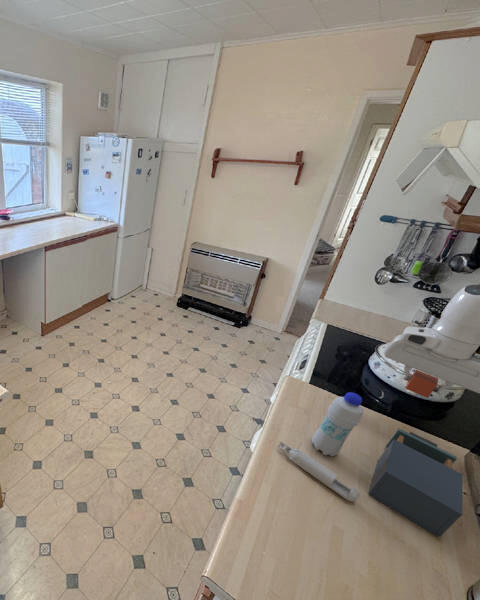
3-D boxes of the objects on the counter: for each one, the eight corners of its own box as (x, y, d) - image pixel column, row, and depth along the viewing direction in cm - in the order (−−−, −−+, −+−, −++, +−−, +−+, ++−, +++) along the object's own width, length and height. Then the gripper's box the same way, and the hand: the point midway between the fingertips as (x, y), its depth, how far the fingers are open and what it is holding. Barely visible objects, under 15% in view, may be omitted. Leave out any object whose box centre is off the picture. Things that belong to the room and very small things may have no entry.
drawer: (388, 436, 95) (400, 419, 92) (442, 463, 88) (457, 446, 85) (378, 472, 84) (391, 454, 81) (439, 507, 76) (456, 489, 73)
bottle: (338, 463, 86) (374, 408, 77) (309, 451, 89) (340, 396, 80) (336, 446, 91) (369, 392, 82) (308, 435, 94) (338, 382, 85)
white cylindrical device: (357, 497, 78) (370, 479, 75) (351, 508, 75) (364, 491, 72) (280, 444, 90) (289, 428, 87) (273, 452, 88) (281, 436, 85)
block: (407, 382, 93) (415, 369, 91) (428, 391, 90) (438, 378, 88) (405, 388, 90) (414, 375, 88) (427, 398, 87) (437, 385, 85)
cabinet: (377, 460, 88) (393, 439, 84) (441, 496, 80) (462, 473, 76) (367, 494, 79) (385, 471, 75) (438, 537, 71) (462, 514, 67)
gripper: (509, 359, 78) (474, 402, 85) (400, 324, 92) (376, 363, 98) (511, 369, 75) (474, 413, 81) (397, 330, 88) (373, 370, 94)
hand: (420, 385), depth 89 cm, fingers closed on block, 4 cm apart
